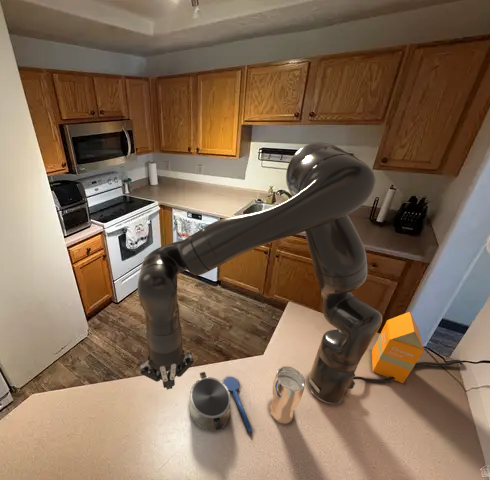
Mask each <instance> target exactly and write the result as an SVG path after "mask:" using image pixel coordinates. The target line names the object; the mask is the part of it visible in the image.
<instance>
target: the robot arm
mask: <svg viewBox="0 0 490 480" xmlns="http://www.w3.org/2000/svg"><path fill="white" fill-rule="evenodd" d="M285 179H286V180H285V183H286V187H287V190H288V192H289V194H290V196H291V197H290V198H289V199H287V200H285V201H284V202H282V203H280V204H277V205H275V206H272V207H270V208H267V209H263V210H260V211H255V212H251V213H246V214H245V213H244V214H238V215H233V216H229V217H225V218H221V219H219V220H215V221H214V222H211V223H209V224H208V225H206V226H204V227H203V228H201V229H199V230H197V231H196V232H194V233H192V234H191V235H189V236H188V237H186V238H184V239H182V240H178V241H174V242H171V243H168V244H166V245H163V246H160V247H158V248H156V249H154V250H152V251H151V252H149V254H147V255H146V256H145V257H144V259H143V260H142V263H141V267H140V270H139V272H140V273H139V275H138V279H137V294H138V299H139V302H140V305H141V307H142V309H143V311H144V319H145V335H146V336H145V337H146V342H147V343H146V344H147V349H148V356H147V360H146V361H140V362H139V368H140V374H141V375H142V376H144V377H147V378H148V379H151V380H152V381H154V382H160V381H162V385H163V388H164V389H166V390H172V389H173V387H175V385H176V380H175V379H176V377H177V378H181V377H182V376H184V374H185V373H186V372H187V371H188V369H189V368H191V366H192V365H193V364H194V362H195V361H194V357H193V354H192V352H191V351H188V352H186V353H185V350H184V349H183V333H182V331H183V330H182V325H181V317H180V316H181V315H180V306H179V302H178V278H179V277H178V275H179V274H180V273H183V272H186V271H188V273H190V274H191V275H193V276H201V275H204V274H206V273H209V272H211V271H212V270H214V269H216V268H218V267H220V266H222V265H224V264H225V263H228V262H229V261H231V260H233V259H235V258H237V257H240V256H242V255H244V254H246V253H248V252H250V251H252V250H255V249H258V248H260V247H264V246H266V245H268V244H273V243H274V242H278V241H281V240H284V239H287V238H289V237H293V236H295V235H299V234H300V233H303V232H304V233H305V239H306V241H307V242H306V243H307V247H308V252H309V254H310V261H311V264H312V267H313V270H314V273H315V276H316V280H317V284H318V287H319V291H320V297H321V310H322V316H323V317H324V319H325V320H326V322H327V323H328V324H330V325H331V326H332V327H333V328H334V329H329V330H327V331H326V332H325V333H323V335H322V337H321V341H320V343H319V346H318V349H317V352H316V355H315V359H314V361H313V364H312V367H311V370H310V372H309V376H308V377H307V380H306V384H307V388H308V390H309V392H310V393H311V394H312V395H313V396H314V398H316V399H317V400H318V401H320V402H321V403H323V404H327V405H331V406H332V405H333V406H334V405H338V404H340V403H342V401H343V399H344V397H345V396H346V395H347V393H348V391H349V390H352V389H354V387H355V384H356V382H355V380H359V381H360V380H362V381H364V382H371V383H373V382H374V383H386V382H390V381H395V380H394V379H395V378H394V377H389V378H388V377H384V378H369V377H368V378H367V377H363V376H356V374H355V372H356V370H357V368H358V366H359V364H360V361H361V360H362V358H363V356H364V355H365V353H366V352H367V351H368V349H369V347H370V345H371V343H372V341H373V340H374V338H375V336H376V335H377V333H378V331H379V329H380V328H381V326H382V323H383V315H382V313H381V312H380V311H379V310H377V309H376V308H374V307H373V306H370V305H369V304H368V303H366V302H365V301H364V300H362V299H360V298H359V297H357V296H356V295H354V294H353V293H352V292H353V291H355V290H357V289H358V288H360V287H361V286H362V285H363V284H365V282H366V280H367V278H368V275H369V273H368V272H369V269H368V268H369V267H368V258H367V256H368V255H367V251H366V247H365V244H364V242H363V241H362V238H361V236H360V234H359V232H358V230H357V228H356V227H355V225H354V223H353V221H352V219H351V218H350V216H349V215H350V214H352V213H354V212H356V210H358V209H359V208H361V207H362V206H363V205H364V204H365V203H366V202H367V201H368V200H369V199H370V197H371V196H372V195H373V192H374V190H375V187H376V184H377V183H376V182H377V179H376V175H375V172H374V170H373V169H372V168H371V166H369V165H368V164H367V163H365V162H364V161H362V160H361V159H359V158H358V157H357V156H354V155H352V154H351V153H349V152H347V151H346V150H344V149H343V148H340V147H338V146H336V145H334V144H331V143H327V142H311V143H309V144H307V145H304V146H303V147H301V148H300V149H299V150H297V151H296V152H295V153H294V154H293V156H292V158H291V159H290V160H289V163H288V165H287V169H286V173H285ZM460 361H461V360H460V359H455V360H454V359H453V360H451V361H448V362H432V361H431V362H430V361H417V362H416V364H415V366H414V367H416V366H438V367H444V366H445V367H446V366H451V365H454V364H460V365H462V363H461V362H460ZM459 362H460V363H459Z"/></svg>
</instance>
